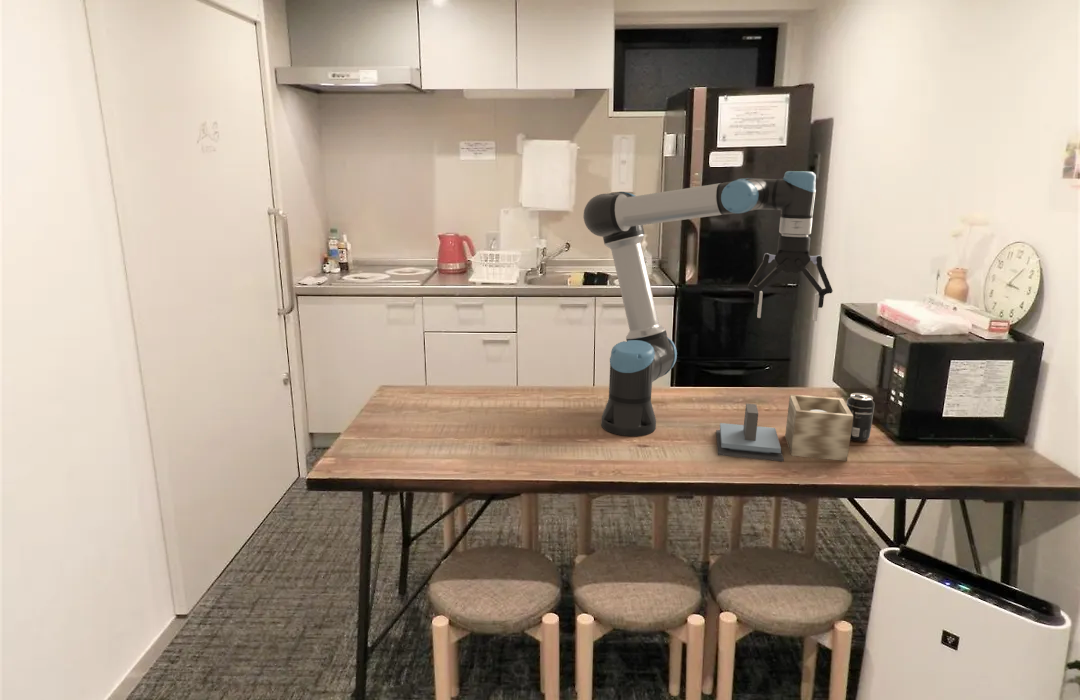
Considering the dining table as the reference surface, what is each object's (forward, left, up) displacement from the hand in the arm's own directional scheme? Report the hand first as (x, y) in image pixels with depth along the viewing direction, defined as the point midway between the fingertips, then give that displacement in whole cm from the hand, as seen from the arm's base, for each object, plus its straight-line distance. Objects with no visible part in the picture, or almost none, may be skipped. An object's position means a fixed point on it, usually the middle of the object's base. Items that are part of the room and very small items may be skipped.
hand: (786, 318), depth 183 cm
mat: (-7, -6, -33) cm, 35 cm away
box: (+10, -3, -33) cm, 35 cm away
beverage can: (+22, +7, -34) cm, 41 cm away
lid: (-7, -6, -33) cm, 34 cm away
